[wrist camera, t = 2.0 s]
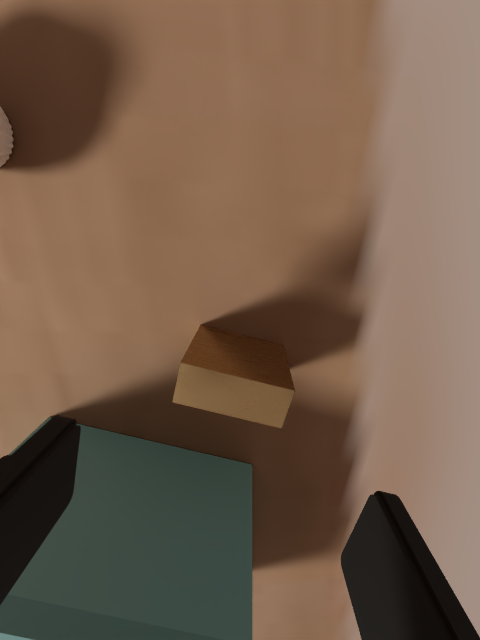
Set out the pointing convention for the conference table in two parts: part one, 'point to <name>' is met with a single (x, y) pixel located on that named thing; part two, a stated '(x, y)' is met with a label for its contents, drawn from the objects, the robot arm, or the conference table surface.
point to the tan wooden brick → (235, 377)
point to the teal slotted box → (141, 549)
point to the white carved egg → (5, 138)
